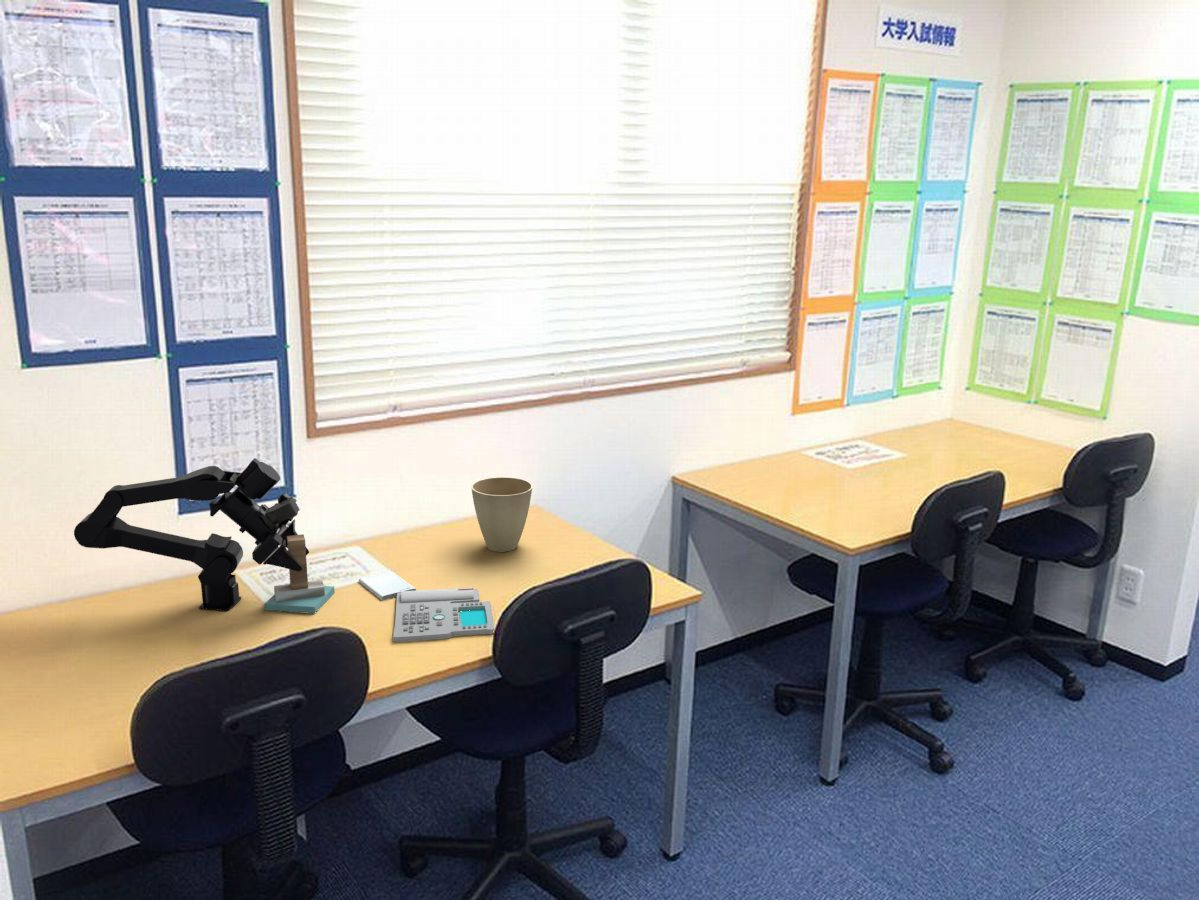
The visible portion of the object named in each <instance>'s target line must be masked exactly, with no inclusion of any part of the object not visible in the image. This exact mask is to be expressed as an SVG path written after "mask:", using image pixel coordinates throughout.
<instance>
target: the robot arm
mask: <svg viewBox="0 0 1199 900" xmlns="http://www.w3.org/2000/svg"><path fill="white" fill-rule="evenodd" d="M280 481H281V476H280V474H279V473H278V471H277V470H276V469H275V468H274V467H272V466H271V465H269V464H267V463H265V462H263V461H260V460H258V459H257V458H253V459H252V460H251V461H250V462H249V464H248V465H247V467H245V469H244V470H242V471H241V472H239V471H237V472H236V471H230V470H222V469H221V468H220V467H219V466H216V465H208V466H205V467H203V468H198V469H196V470H194V471H191V472H188V473H187V474H184V475H181V476H178V477H171V478H170V477H169V478H165V479H164V478H163V479H158V480H152V481H144V482H138V483H131V484H125V485H124V484H122V485H120V484H117V485H114V486H112V487H111V488H110V489H109V490H108V491H106V492H105V494H104V495H103V498H101V500H100V502H99V504H97V506H96V508H94V510H93V511H92V512H90V513H89V514H87V515H86V516H85V517H84V518H82V520H81V521H80V522H79V523H77V524H76V526H75V527H74V530H73V535H74V539H75V541H76V542H77V543H78V545H79V546H81V547H84V548H88V549H102V550H103V549H110V548H111V549H112V548H127V549H131V550H136V551H140V552H145V553H149V554H155V555H159V556H163V557H169V558H173V559H178V560H183V561H188V562H190V563H194V564H195V565H196V566H197V567H200V568H201V569H202V570H201V571H200V572H199V574H198V576H197V579H198V580H199V582H200V587H201V588H200V589H201V600H202V603H201V604H200V605H199V606H198V609H199V610H207V611H208V610H209V611H224V612H227V611H229V610H231V609H232V608H233V607H234V606H235V605H236V604H237V603H239V602H240V601H241V600H242V597H241V596H240V589H239V583H238V582H237V579H236V574H233V573H234V572H235V571H236V570H237V568H238V566H239V565H240V562H241V561H242V558H243V557H244V550H243V548H242V546H241V544H240V543H239V542H238V541H236V540H234V539H232V536H222V535H219V534H218V533H217V534H216V533H210V535H209V537H208V538H207V539H202V540H201V539H200V540H199V539H194V538H189V537H185V536H182V535H176V534H172V533H167V532H161V531H157V530H154V529H149V528H143V527H139V526H135V525H131V524H129V523H127V522H126V521H124V520H122V519H121V518H120V517H118V515H119V513H120V512H121V510H122V508H124V507H129V506H137V505H142V504H143V505H144V504H149V503H150V504H151V503H156V502H163V501H169V500H177V499H179V500H180V499H184V500H189V501H201V502H202V501H210V502H209V503H208V506H209V509H210V510H209V516H210V517H214V516H215V515H216V514H217V513H218V512H220V511H221V512H222V513H223V514H224V515H225V516H226V517H228V518H229V519H230V520H231V521H232V522H233V523H235V524H236V525H238V526H239V527H240V528H239V530H238V531H239V532H241V534H244V533H245V532H246V533H247V534H248V535H249V536H251V537H252V538H253V539H255V541H254V544H255V545H256V546H255V547H254V549H253V550H252V555H251V556H252V560H253V561H254V562H256V563H257V564H258V565H259V566H260V565H262V564H263V565H269V566H275V567H279V568H284V569H288V570H289V569H291V570H295V571H298V572H300V571H301V570H302V569H303V567H302V566H301V565H300V563H299V562H298V561H297V560H296V559H295V558H294V557H293V556H292V555H291V554H290V553H289V552H288V545H287V536H293V535H299V534H298V533H297V531H296V519H295V517H296V516H298V515H299V513H298V512H299V511H300V510H301V509H300V508H299V506H298V504H297V498H295V497H294V496H293V495H291V496H290V495H289V494H287V493H286V492H285V493H282V494H279V495H278V497H277V502H276V503H274V504H273V505H272V506H268V505H267V504H263V503H262V504H261V505H259V504H258V503H257V502H255V500H263V498H264V497H265V496H266V495H267V494H268V493H269V492H270V491H271V490H272V489H273V487H275V486H276V485H277V484H278V483H279V482H280ZM235 486H236V488H235ZM234 488H235V489H234ZM233 489H234V490H233ZM232 490H233V491H232ZM231 491H232V492H231ZM221 494H222V495H221ZM219 495H220V496H219ZM218 496H219V498H218ZM217 498H218V499H217ZM309 554H310V551H309V549H308V547H306V556H307V555H309Z"/></svg>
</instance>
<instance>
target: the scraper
mask: <svg viewBox="0 0 1199 900" xmlns="http://www.w3.org/2000/svg"><path fill="white" fill-rule="evenodd" d="M287 545H288V548H287V550H288V552H289V553H290V554H291V555H292V556H293V557H294V558H295V559H296V560H297V561H298V562H299V563H300V565H301V566H302V567H303V569H302V570H301V571H300V572H298V571H295V570H291V569H288V570H289V571H288V573H289V583H285V584H278V585H273V591H274V594H275V599H276V602H278V601H286V600H294V599H301V598H309V597H317V596H325V590H324V586H325V585H324V581H323V579H319V580H312V581H308V566H307V565H308V564H307V555H306V548H307V546H306V539H305V535H304V534H298V535H293V536H287Z"/></svg>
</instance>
